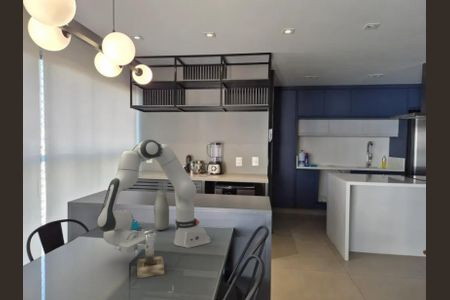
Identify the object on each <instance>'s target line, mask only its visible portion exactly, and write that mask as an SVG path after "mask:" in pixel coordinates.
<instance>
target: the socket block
mask: <svg viewBox="0 0 450 300" xmlns="http://www.w3.org/2000/svg"><path fill="white" fill-rule="evenodd" d="M136 261H137V262H136V263H137V264H136V265H137V266H136V268H137V270H136V271H137V273H136V274H137V275H136V276H137V279H141V278H147V277H154V275H155V276H159V275H165V263H164V259H163V255H159V256H154V262H153V263H151V264H147V263H145V258H138V259H136Z"/></svg>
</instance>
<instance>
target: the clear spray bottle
mask: <svg viewBox="0 0 450 300" xmlns="http://www.w3.org/2000/svg"><path fill="white" fill-rule="evenodd" d="M145 231H146V232H144V235H145V244H147V245H148V248H147V249H144V250H145V253H144V255H145V256H144V257H145V263H147V264H151V263H153V262H154V257H155V245H154V232H155V231H156V227H154V228H153V227H152V229H149V230H145Z"/></svg>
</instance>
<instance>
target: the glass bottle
mask: <svg viewBox="0 0 450 300" xmlns="http://www.w3.org/2000/svg"><path fill="white" fill-rule="evenodd" d="M167 198H168V197H167V192H166V190H164V189H160V190H159V189H158V190H156V192H155V201H154V205H153V215H154V216H153V217H154V218H153V219H154V221H153V223H154V226H155V227H154V228H155V230H157V231H163V230H164V231H165V230H166V229H167V228H168V227H169V225H170V206H169V203H168V202H169V201H168V199H167Z"/></svg>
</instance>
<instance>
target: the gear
mask: <svg viewBox="0 0 450 300" xmlns="http://www.w3.org/2000/svg"><path fill="white" fill-rule="evenodd" d="M140 225H141V222H139V223H138V220H136V219H134V218H133V224H132V228H131V230H139V229H141V226H140Z"/></svg>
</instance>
